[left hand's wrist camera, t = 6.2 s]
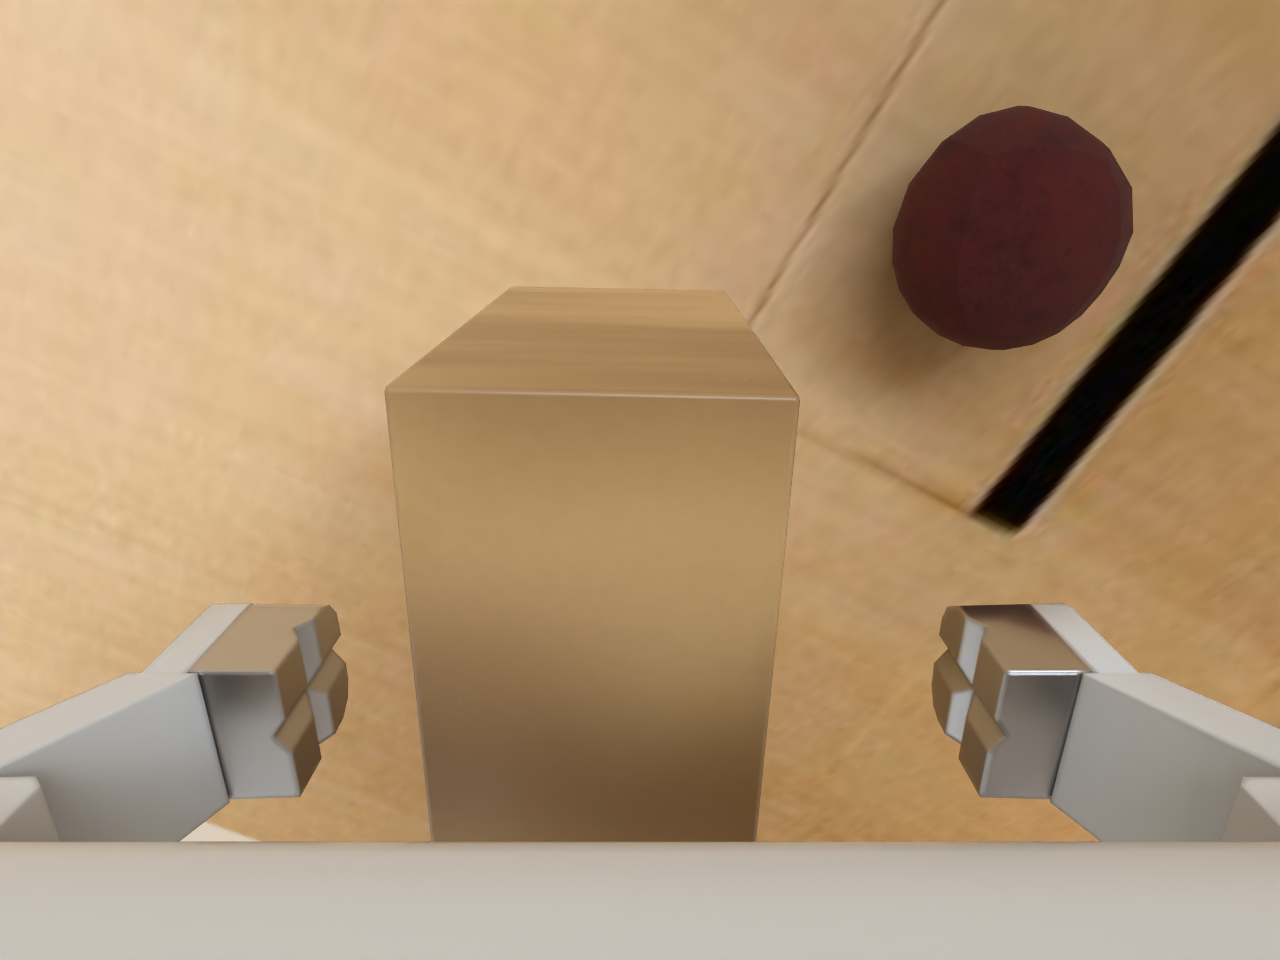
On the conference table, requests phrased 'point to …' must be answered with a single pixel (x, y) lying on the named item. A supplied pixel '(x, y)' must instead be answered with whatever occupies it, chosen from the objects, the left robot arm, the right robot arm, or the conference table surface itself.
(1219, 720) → the left robot arm
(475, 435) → the box
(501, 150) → the conference table surface
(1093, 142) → the dark red ball
